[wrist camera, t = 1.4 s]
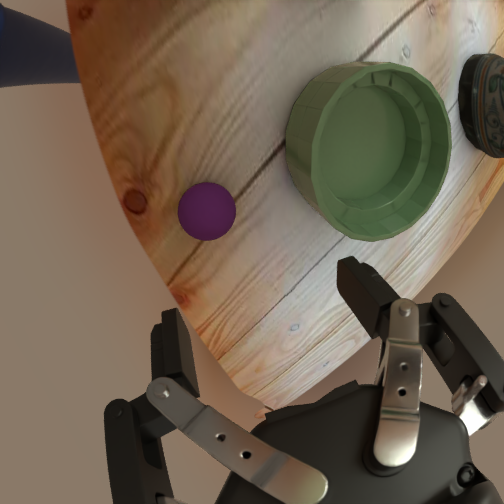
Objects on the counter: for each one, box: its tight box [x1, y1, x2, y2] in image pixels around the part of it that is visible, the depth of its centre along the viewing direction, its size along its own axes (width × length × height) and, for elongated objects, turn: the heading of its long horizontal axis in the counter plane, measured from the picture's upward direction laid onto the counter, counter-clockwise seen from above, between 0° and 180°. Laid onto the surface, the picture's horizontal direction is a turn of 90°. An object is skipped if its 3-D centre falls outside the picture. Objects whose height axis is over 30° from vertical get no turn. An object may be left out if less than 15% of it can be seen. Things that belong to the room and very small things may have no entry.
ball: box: [178, 182, 236, 241], centre depth 24 cm, size 5×5×5 cm
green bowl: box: [286, 62, 452, 242], centre depth 25 cm, size 17×17×6 cm
